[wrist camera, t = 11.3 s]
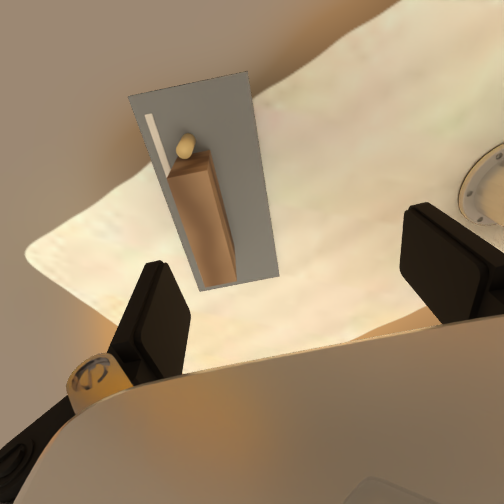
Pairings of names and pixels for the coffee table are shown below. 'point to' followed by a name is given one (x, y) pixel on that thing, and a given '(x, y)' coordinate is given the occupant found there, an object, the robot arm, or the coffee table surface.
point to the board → (224, 158)
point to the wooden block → (204, 217)
